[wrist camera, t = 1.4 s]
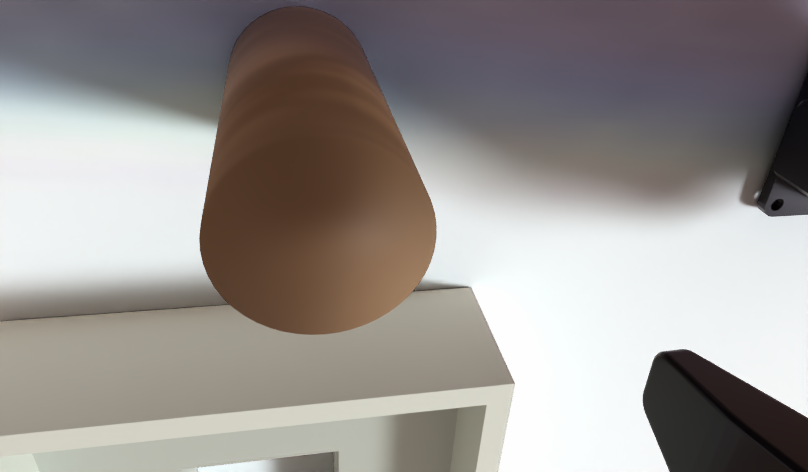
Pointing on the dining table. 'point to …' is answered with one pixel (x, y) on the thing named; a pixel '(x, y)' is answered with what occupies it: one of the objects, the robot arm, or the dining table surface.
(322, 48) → the peg
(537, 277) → the dining table surface
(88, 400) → the bore box
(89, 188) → the dining table surface
